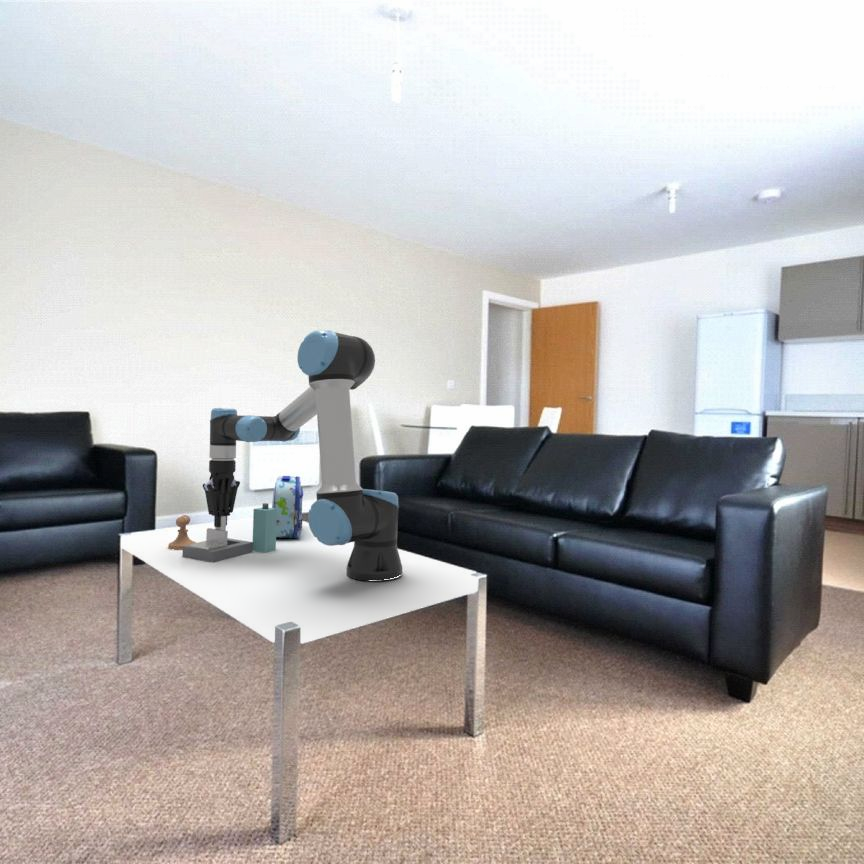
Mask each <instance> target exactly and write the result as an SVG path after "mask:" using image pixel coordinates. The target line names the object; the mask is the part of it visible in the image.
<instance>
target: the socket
mask: <svg viewBox="0 0 864 864" xmlns="http://www.w3.org/2000/svg"><path fill="white" fill-rule="evenodd" d="M250 553H254V552H253V541H248V540H241V539H234V538H230V537H229V538H228V537H227V546H223V547H219V548H215V549H211V550H206V549H200V548H194V547H190V545H187V546H183V550H182V556H181V557H183V558H188V559H193V560H199V561H205V562H208V563H215V562H219V561H220V562H221V561H223V560H227V559H231V558H235V557H238V556H242V555H247V554H250Z"/></svg>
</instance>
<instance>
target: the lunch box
mask: <svg viewBox="0 0 864 864" xmlns="http://www.w3.org/2000/svg"><path fill="white" fill-rule="evenodd" d="M272 494H273V495H272V502H271V503H272V504H271V508H276V509H277V524H276V538H279V539H283V538H286V539H287V538H288V539H293V538H294V539H295V540H298V539H299V538H300V536H301V531H303V518H302V516H303V497H304V490H303V487H302V483H301V477H300V476H298V475H297V476H293V475H282V476H281V475H278V476H277V478H276V481H275V485H274V488H273V493H272Z"/></svg>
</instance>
